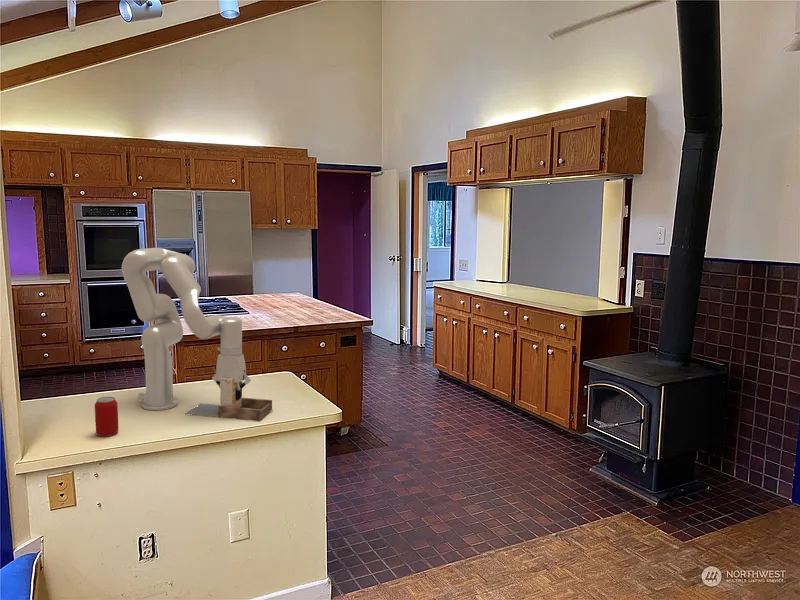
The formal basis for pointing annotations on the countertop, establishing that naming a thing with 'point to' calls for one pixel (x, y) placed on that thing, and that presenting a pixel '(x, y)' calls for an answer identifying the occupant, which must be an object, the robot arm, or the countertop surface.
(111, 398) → the beverage can
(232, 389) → the supplement box
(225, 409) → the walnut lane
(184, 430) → the countertop surface
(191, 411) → the mat
